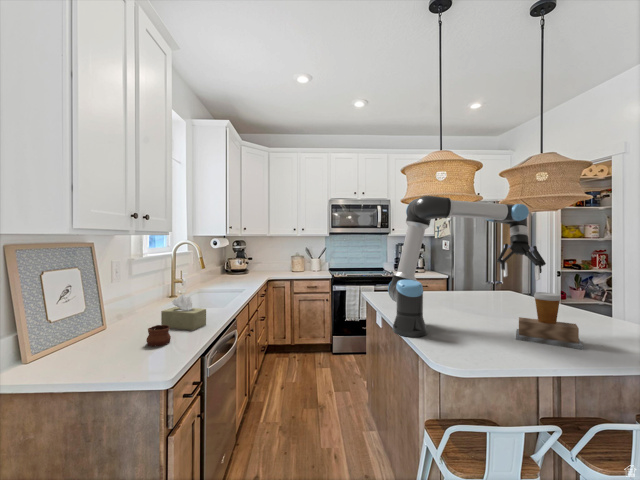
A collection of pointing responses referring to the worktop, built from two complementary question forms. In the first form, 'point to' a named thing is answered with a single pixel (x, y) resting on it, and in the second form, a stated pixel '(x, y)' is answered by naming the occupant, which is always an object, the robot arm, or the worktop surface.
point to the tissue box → (183, 315)
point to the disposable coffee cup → (547, 306)
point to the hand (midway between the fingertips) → (521, 278)
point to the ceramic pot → (158, 335)
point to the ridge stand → (549, 333)
